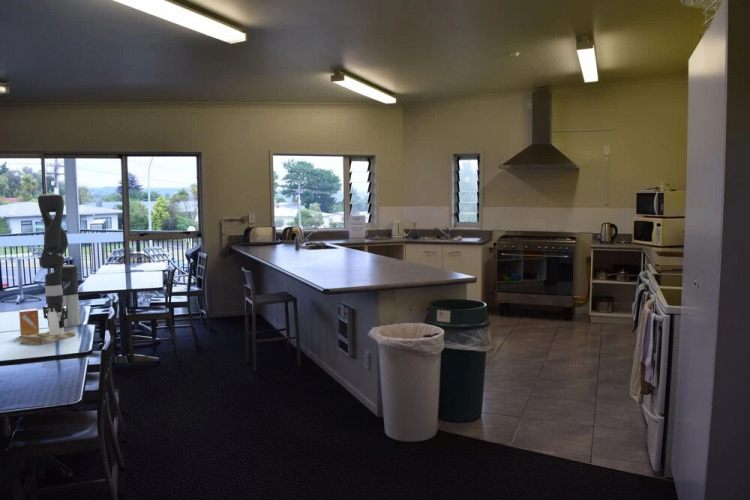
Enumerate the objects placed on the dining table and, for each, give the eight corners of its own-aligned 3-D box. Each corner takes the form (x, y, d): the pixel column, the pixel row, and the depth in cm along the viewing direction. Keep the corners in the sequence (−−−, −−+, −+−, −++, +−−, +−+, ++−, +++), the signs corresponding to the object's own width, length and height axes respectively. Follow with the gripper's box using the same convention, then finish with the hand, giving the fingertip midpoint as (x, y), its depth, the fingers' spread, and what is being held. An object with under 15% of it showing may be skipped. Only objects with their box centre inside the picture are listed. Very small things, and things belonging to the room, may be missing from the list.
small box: (21, 337, 293) (19, 311, 292) (20, 335, 299) (18, 310, 298) (39, 335, 298) (38, 309, 297) (38, 333, 303) (37, 308, 302)
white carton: (49, 336, 288) (47, 312, 287) (49, 334, 294) (48, 310, 293) (64, 334, 291) (62, 310, 290) (64, 332, 297) (62, 308, 296)
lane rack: (55, 334, 299) (55, 327, 299) (74, 335, 295) (74, 328, 295) (20, 343, 280) (20, 336, 280) (40, 344, 276) (39, 337, 276)
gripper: (71, 293, 292) (73, 326, 293) (49, 292, 297) (51, 325, 298) (58, 295, 285) (61, 329, 286) (36, 294, 290) (38, 328, 291)
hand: (56, 327), depth 292 cm, fingers closed on white carton, 6 cm apart
